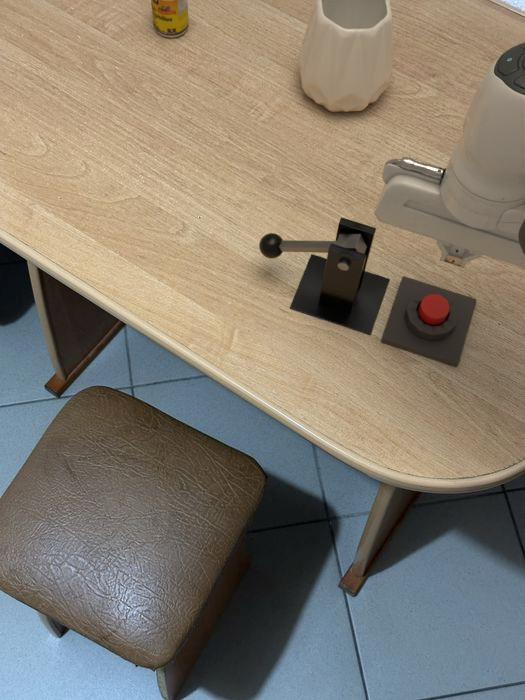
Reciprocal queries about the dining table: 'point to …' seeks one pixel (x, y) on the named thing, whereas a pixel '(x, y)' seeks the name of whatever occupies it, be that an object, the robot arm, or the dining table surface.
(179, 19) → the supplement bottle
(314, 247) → the switch lever
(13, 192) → the dining table surface
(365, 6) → the vase
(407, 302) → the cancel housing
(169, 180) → the dining table surface
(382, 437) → the dining table surface
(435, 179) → the robot arm
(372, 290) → the switch bracket
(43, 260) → the dining table surface
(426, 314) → the button
